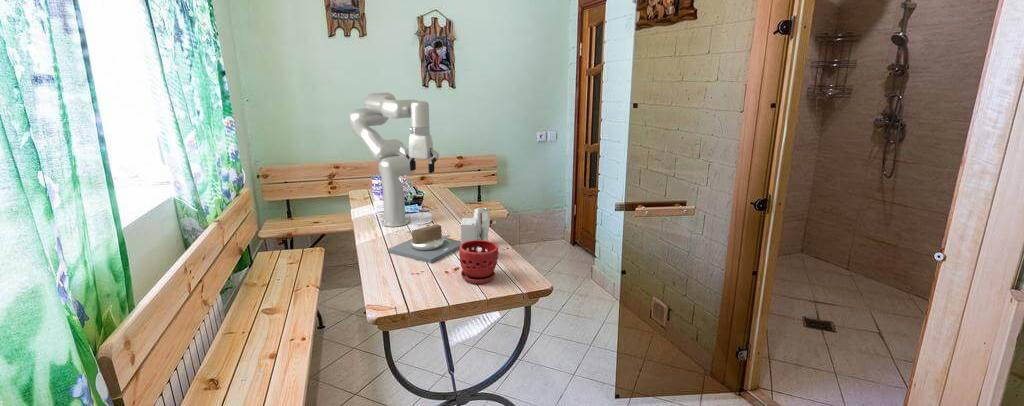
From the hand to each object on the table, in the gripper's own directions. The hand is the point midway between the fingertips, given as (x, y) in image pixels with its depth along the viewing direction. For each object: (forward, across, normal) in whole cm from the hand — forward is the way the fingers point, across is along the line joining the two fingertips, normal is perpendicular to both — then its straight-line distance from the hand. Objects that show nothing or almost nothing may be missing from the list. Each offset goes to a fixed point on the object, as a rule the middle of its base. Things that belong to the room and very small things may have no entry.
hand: (422, 171), depth 201 cm
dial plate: (+28, +13, -16) cm, 34 cm away
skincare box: (+28, +33, -16) cm, 46 cm away
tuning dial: (+26, +14, -14) cm, 32 cm away
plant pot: (+27, +46, -31) cm, 62 cm away
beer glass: (+28, +30, -2) cm, 41 cm away
